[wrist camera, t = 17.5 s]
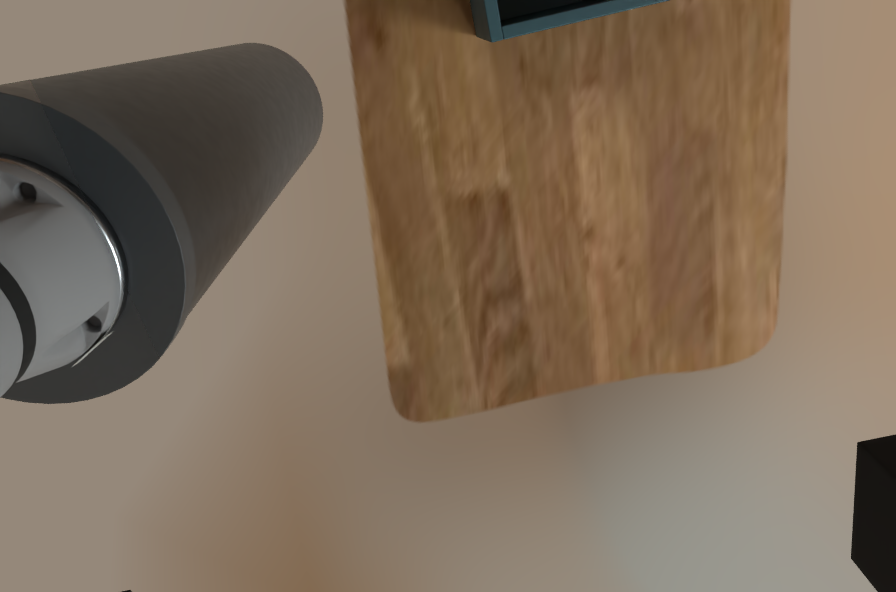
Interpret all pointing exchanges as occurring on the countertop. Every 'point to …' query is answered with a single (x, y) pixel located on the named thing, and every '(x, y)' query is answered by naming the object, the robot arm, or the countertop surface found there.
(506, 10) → the dark teal open box
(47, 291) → the robot arm
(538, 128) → the countertop surface
